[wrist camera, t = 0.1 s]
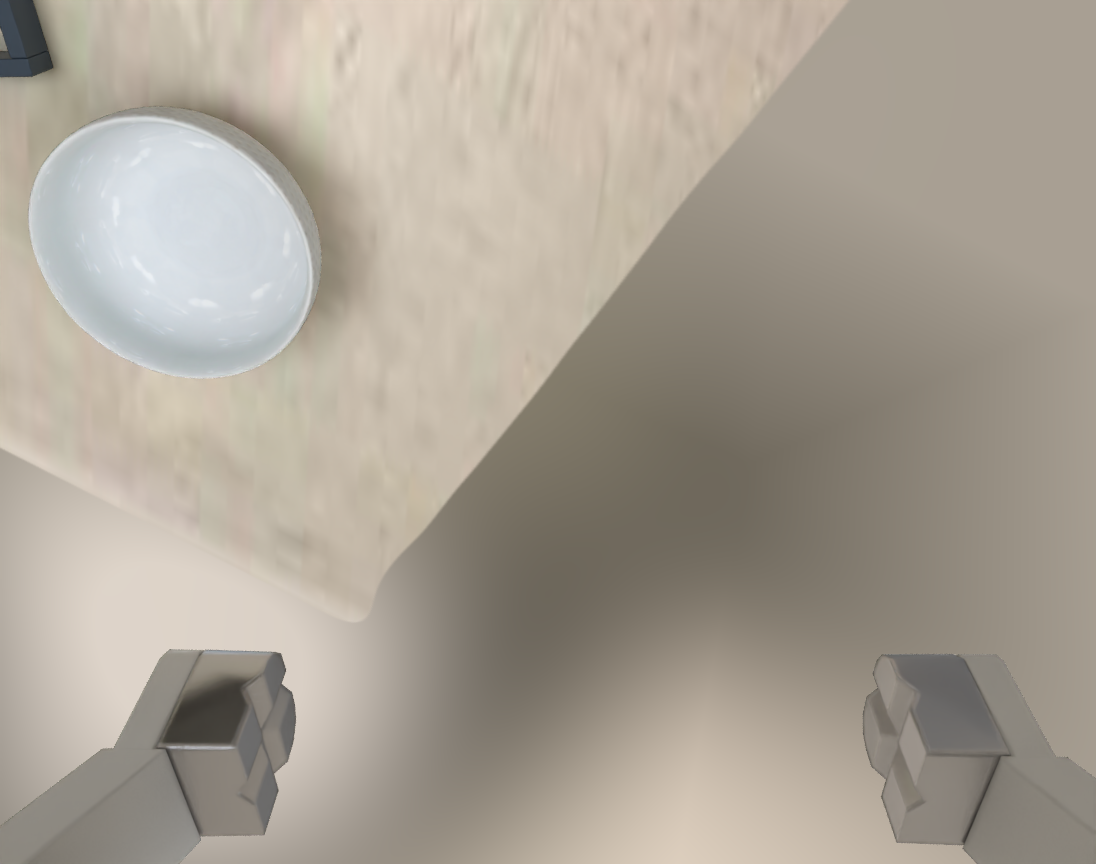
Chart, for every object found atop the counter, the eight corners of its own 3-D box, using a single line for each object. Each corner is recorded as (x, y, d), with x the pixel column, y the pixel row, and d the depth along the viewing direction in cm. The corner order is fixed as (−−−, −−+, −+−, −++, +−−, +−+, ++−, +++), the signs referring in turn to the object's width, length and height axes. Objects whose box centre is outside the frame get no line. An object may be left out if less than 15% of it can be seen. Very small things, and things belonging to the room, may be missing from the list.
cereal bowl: (277, 54, 53) (240, 80, 47) (375, 301, 62) (355, 349, 56) (28, 126, 56) (-36, 159, 50) (157, 353, 64) (115, 404, 58)
